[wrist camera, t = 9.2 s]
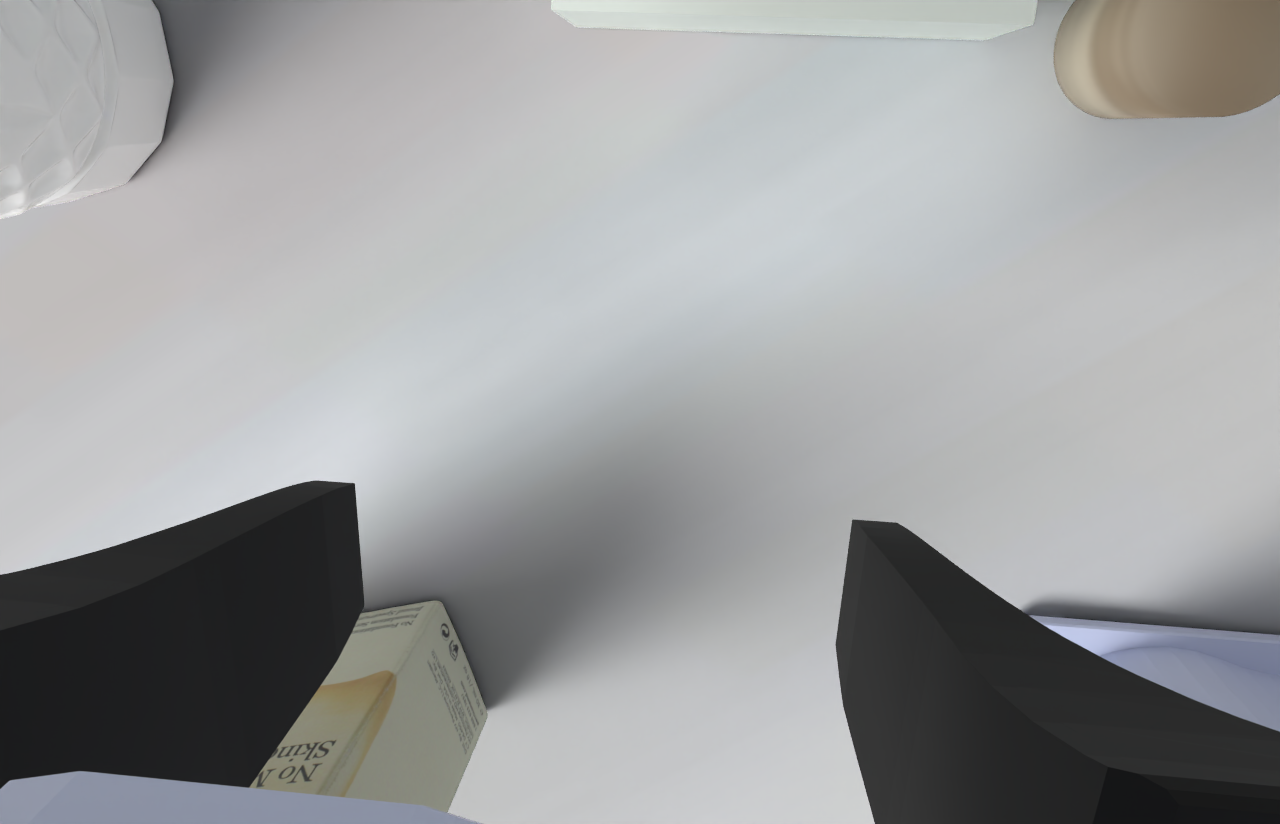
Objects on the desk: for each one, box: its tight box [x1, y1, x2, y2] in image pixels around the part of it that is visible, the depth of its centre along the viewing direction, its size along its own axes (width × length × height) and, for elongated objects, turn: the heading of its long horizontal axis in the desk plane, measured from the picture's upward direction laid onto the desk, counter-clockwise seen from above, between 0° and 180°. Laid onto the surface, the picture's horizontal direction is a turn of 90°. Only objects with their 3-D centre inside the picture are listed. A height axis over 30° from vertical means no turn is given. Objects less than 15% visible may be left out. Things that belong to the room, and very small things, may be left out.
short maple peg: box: [1054, 0, 1280, 119], centre depth 16 cm, size 3×3×4 cm
